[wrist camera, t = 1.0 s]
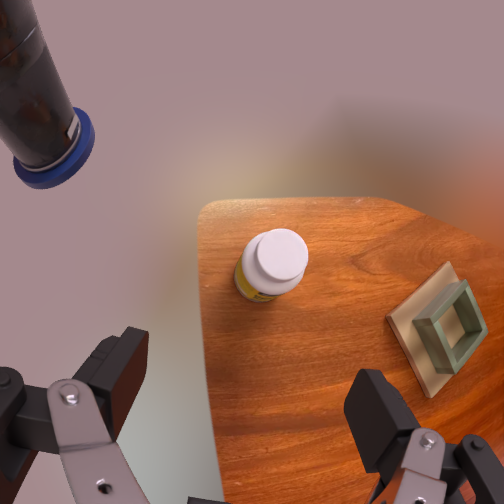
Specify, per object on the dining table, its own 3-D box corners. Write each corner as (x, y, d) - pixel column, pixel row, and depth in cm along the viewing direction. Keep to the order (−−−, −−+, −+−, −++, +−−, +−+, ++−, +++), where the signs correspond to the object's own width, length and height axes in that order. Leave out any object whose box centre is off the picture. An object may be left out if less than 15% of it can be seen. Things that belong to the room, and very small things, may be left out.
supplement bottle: (245, 311, 31) (263, 300, 22) (225, 262, 32) (235, 230, 23) (292, 292, 32) (328, 273, 23) (273, 245, 33) (299, 209, 24)
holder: (384, 316, 33) (408, 312, 29) (443, 262, 36) (466, 254, 32) (425, 397, 31) (449, 401, 27) (477, 337, 34) (500, 334, 30)
